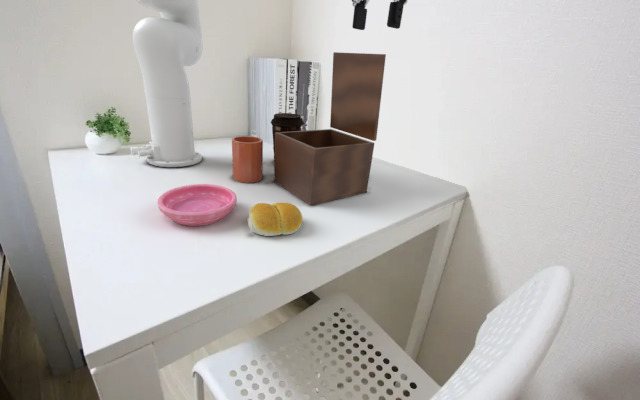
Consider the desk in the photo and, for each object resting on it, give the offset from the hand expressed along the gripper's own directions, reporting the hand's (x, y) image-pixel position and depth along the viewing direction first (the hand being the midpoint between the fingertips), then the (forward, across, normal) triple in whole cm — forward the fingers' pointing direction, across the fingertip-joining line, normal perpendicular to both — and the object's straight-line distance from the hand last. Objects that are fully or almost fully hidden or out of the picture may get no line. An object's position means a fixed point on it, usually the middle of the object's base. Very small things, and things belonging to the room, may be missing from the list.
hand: (374, 28), depth 63 cm
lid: (+13, 0, -4) cm, 14 cm away
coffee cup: (+33, -18, -9) cm, 39 cm away
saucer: (+33, +1, -38) cm, 50 cm away
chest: (+33, 0, -11) cm, 35 cm away
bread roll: (+33, +11, -29) cm, 45 cm away
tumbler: (+33, -12, -23) cm, 42 cm away
